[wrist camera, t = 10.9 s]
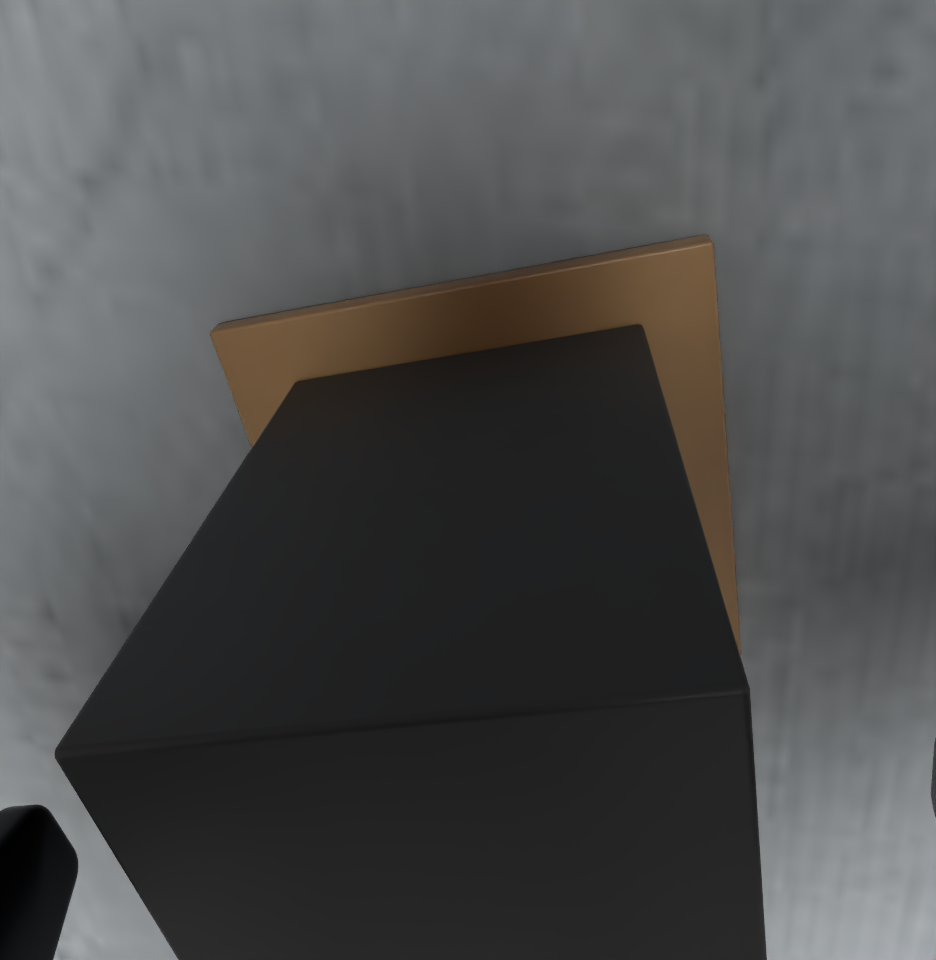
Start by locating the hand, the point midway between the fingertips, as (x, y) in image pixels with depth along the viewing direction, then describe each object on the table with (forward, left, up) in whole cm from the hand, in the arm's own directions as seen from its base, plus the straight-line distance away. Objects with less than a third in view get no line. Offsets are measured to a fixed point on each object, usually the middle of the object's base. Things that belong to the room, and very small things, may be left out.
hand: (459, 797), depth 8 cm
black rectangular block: (0, 0, -5) cm, 5 cm away
